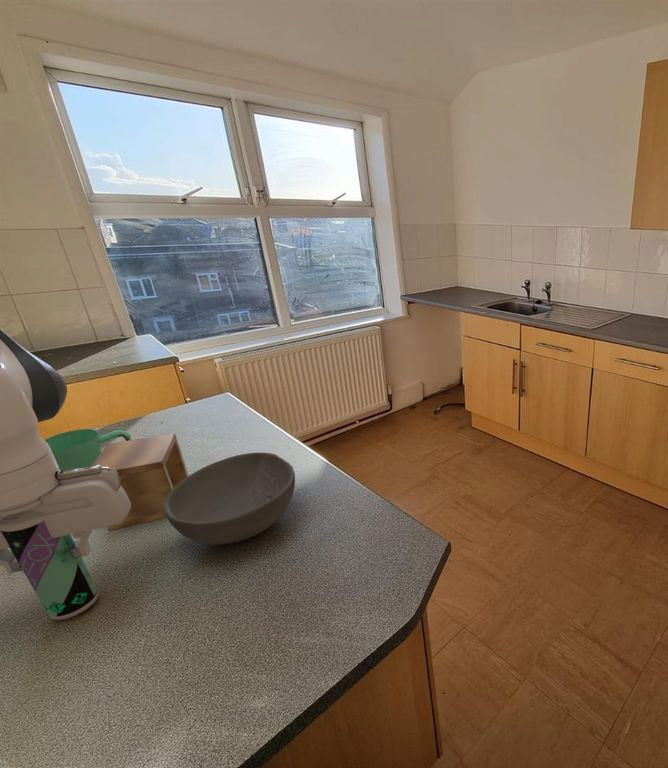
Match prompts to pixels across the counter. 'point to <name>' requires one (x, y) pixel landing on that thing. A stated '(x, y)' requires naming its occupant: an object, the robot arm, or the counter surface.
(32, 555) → the spray can
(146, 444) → the wooden box
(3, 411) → the robot arm
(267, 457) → the bowl
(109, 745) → the counter surface
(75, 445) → the mug
